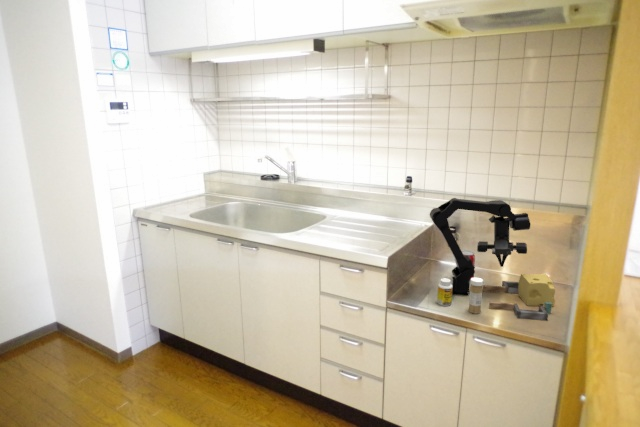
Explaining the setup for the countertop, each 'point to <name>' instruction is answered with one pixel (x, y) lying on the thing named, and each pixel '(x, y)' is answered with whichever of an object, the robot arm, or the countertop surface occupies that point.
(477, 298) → the sprinkles bottle
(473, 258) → the soda can
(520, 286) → the cheese
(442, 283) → the supplement bottle
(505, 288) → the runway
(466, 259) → the robot arm
